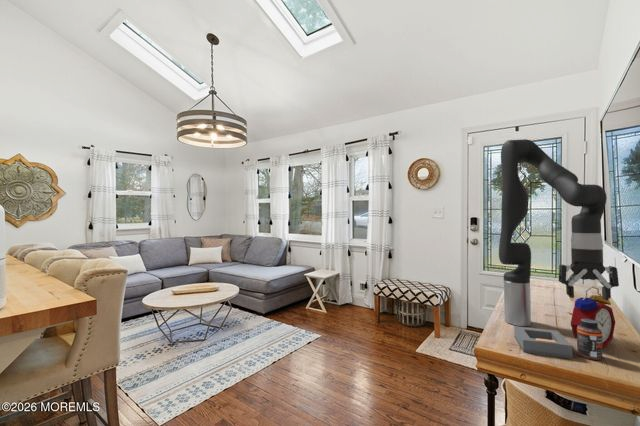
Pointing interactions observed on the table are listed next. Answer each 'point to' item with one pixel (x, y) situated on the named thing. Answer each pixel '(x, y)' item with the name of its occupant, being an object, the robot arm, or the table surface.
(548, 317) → the table surface
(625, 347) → the table surface
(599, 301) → the alarm clock
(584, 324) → the supplement bottle
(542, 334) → the socket holder
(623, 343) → the table surface
